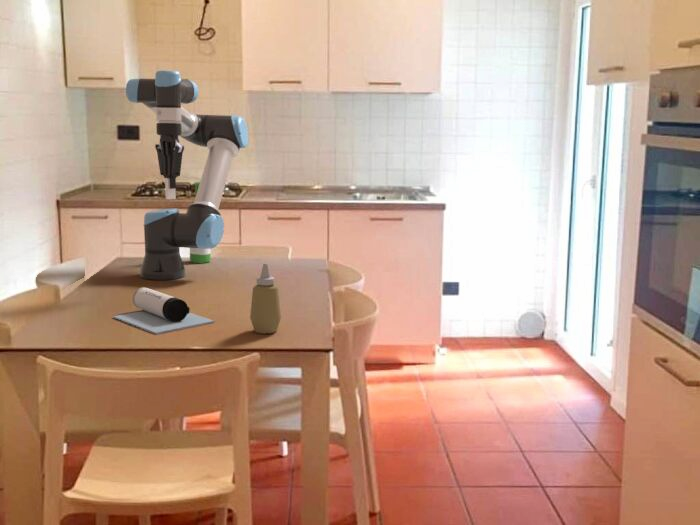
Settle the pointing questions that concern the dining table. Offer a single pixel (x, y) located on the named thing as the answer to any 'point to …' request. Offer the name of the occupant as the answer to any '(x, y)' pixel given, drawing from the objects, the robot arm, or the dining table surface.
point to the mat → (161, 322)
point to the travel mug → (160, 304)
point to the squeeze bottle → (265, 304)
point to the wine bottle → (197, 253)
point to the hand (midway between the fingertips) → (170, 198)
